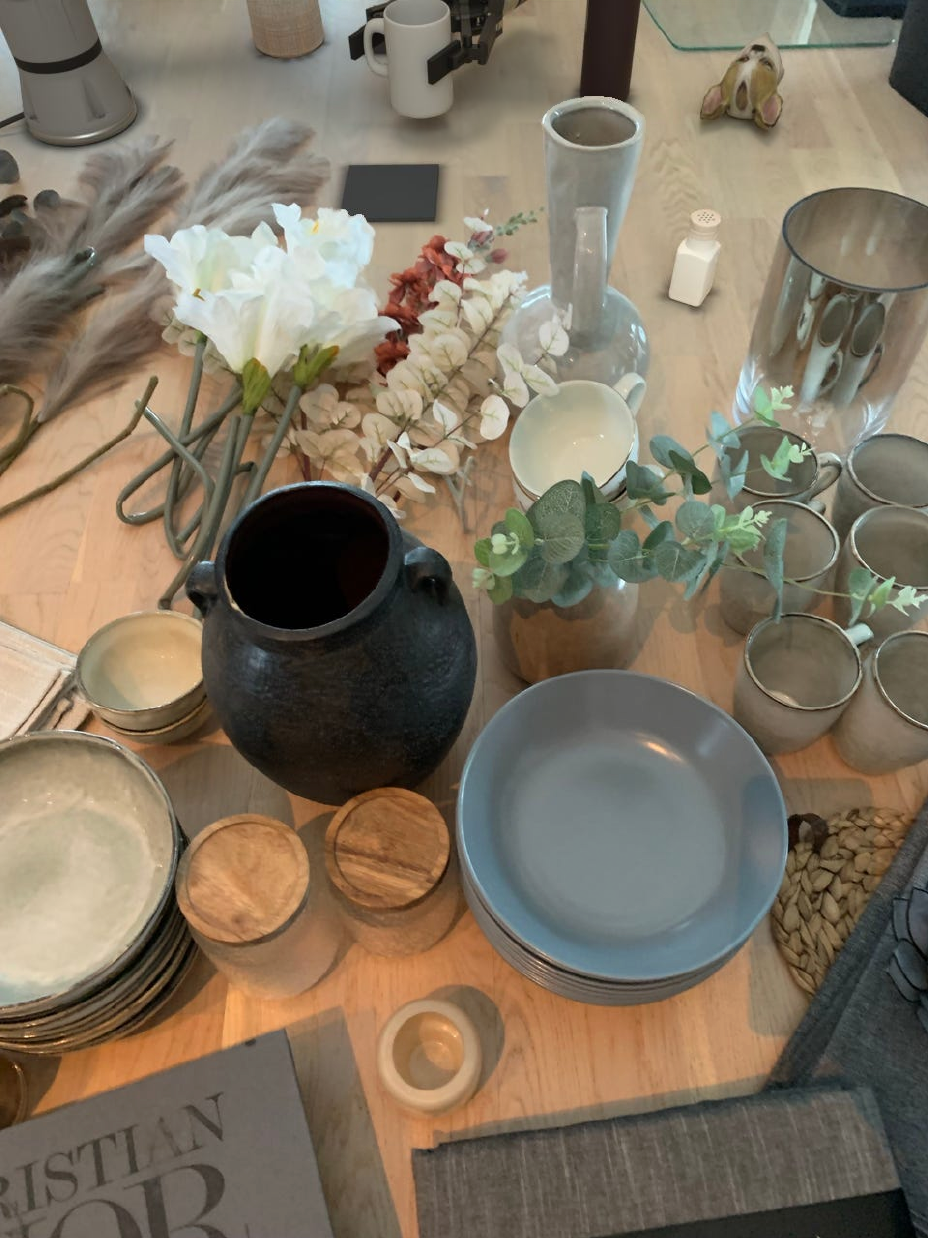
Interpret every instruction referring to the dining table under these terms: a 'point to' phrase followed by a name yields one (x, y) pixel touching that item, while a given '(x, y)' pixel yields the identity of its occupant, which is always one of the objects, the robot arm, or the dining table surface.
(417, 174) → the coaster
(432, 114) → the mug
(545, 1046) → the dining table surface
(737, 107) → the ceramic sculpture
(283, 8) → the planter
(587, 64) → the wine bottle
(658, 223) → the dining table surface
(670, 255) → the dining table surface
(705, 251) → the salt shaker
